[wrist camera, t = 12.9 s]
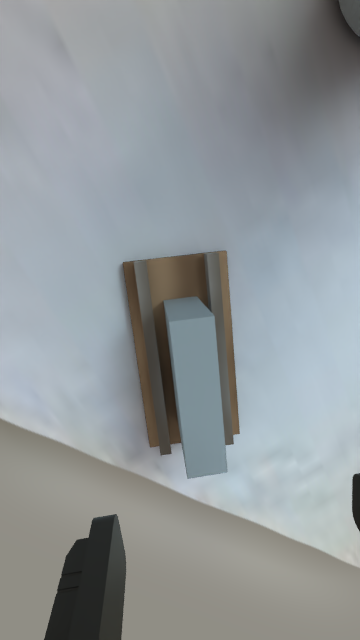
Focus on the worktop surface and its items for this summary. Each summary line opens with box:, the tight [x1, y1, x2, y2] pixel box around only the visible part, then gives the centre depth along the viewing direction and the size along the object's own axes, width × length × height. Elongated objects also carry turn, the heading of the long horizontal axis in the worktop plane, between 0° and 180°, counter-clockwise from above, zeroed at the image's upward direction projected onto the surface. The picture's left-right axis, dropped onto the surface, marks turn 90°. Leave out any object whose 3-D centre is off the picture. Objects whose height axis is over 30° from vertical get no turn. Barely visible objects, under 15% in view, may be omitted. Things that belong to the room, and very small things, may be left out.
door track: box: [123, 251, 240, 455], centre depth 30 cm, size 9×18×2 cm, turn 6°
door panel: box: [163, 296, 227, 479], centre depth 27 cm, size 3×12×8 cm, turn 6°
